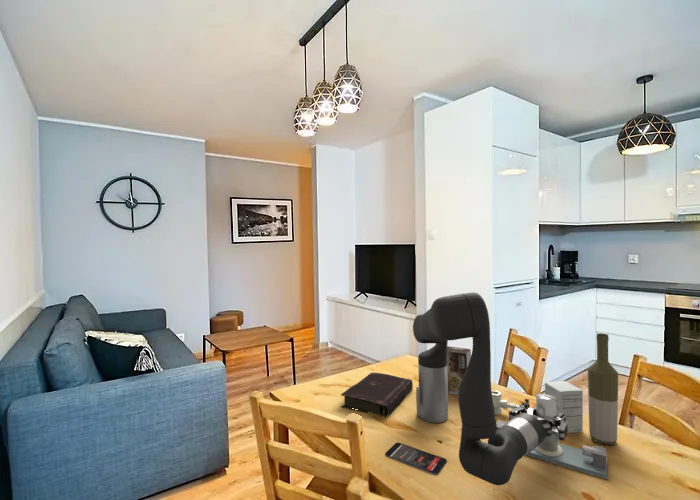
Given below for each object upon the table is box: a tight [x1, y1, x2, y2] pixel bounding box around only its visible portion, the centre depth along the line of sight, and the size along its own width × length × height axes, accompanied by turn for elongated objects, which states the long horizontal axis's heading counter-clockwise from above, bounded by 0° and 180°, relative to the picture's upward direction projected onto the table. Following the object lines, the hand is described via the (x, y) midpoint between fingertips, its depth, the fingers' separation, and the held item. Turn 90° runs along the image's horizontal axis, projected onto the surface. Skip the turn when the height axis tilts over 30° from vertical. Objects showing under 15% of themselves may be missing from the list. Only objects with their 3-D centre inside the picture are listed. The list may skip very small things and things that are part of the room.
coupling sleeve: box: [535, 393, 559, 452], centre depth 96 cm, size 5×5×13 cm
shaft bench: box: [496, 420, 608, 480], centre depth 96 cm, size 26×9×4 cm, turn 54°
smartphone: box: [384, 441, 448, 476], centre depth 95 cm, size 7×1×15 cm
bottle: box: [587, 332, 619, 446], centre depth 101 cm, size 7×7×30 cm
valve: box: [491, 390, 531, 416], centre depth 117 cm, size 7×7×12 cm
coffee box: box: [447, 345, 472, 396], centre depth 136 cm, size 9×6×16 cm
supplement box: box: [544, 380, 584, 434], centre depth 109 cm, size 7×7×13 cm
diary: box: [340, 372, 413, 419], centre depth 132 cm, size 19×25×5 cm
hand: (550, 412), depth 98 cm, fingers open, 5 cm apart
